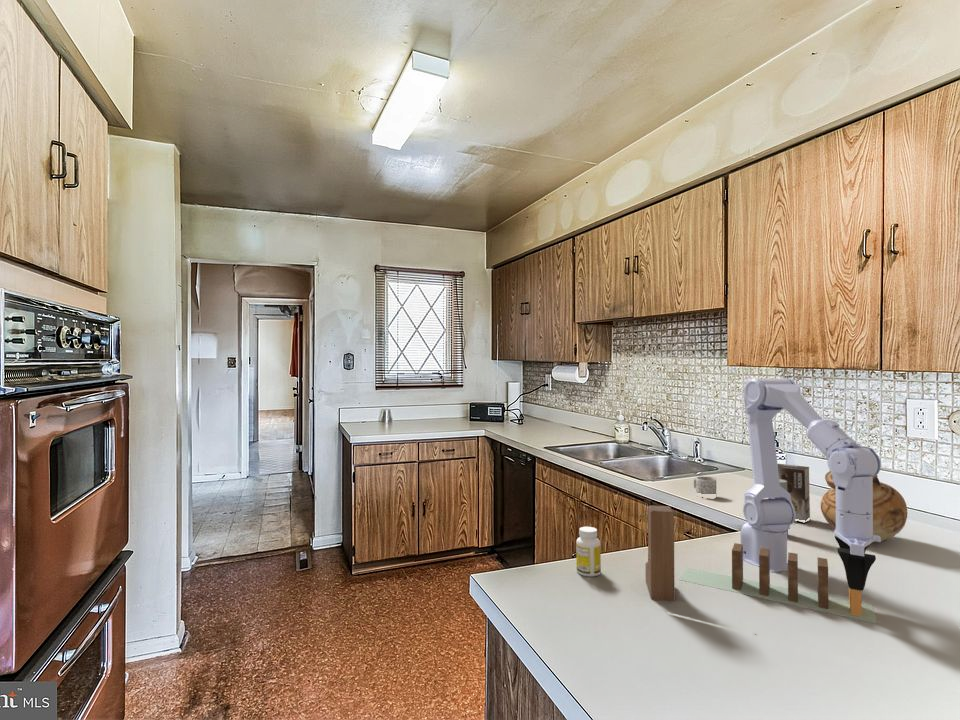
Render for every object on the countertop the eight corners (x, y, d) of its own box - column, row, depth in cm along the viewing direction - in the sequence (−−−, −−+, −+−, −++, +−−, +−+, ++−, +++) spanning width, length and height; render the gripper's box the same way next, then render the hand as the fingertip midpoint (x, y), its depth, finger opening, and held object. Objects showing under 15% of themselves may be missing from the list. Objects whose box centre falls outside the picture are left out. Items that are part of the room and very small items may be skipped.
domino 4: (818, 607, 97) (818, 565, 97) (817, 597, 101) (817, 557, 101) (828, 609, 96) (828, 567, 96) (827, 599, 100) (827, 558, 100)
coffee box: (810, 519, 154) (810, 466, 154) (806, 524, 149) (805, 469, 149) (777, 513, 160) (776, 462, 160) (771, 517, 155) (771, 465, 156)
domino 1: (732, 588, 105) (731, 550, 105) (734, 579, 109) (734, 543, 109) (740, 590, 104) (740, 551, 104) (743, 581, 108) (742, 544, 108)
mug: (720, 498, 178) (720, 480, 178) (704, 499, 176) (704, 480, 177) (701, 491, 188) (701, 474, 188) (686, 492, 186) (686, 474, 186)
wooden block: (645, 582, 109) (645, 499, 109) (667, 584, 108) (666, 500, 108) (651, 601, 100) (650, 510, 100) (674, 603, 99) (674, 512, 99)
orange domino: (850, 614, 94) (850, 571, 94) (849, 603, 98) (848, 562, 98) (861, 616, 93) (861, 573, 93) (859, 605, 97) (858, 564, 97)
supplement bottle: (597, 567, 117) (597, 525, 117) (603, 577, 112) (603, 532, 112) (574, 567, 117) (574, 525, 117) (579, 577, 111) (579, 533, 112)
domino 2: (759, 594, 102) (759, 554, 102) (761, 585, 106) (760, 547, 107) (768, 596, 101) (768, 556, 101) (769, 587, 106) (769, 549, 106)
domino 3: (788, 600, 100) (787, 560, 100) (788, 591, 104) (788, 552, 104) (797, 602, 99) (797, 561, 99) (797, 593, 103) (797, 553, 103)
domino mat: (679, 581, 109) (679, 579, 109) (686, 569, 116) (686, 567, 116) (877, 625, 91) (877, 623, 91) (872, 607, 98) (872, 605, 98)
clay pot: (804, 528, 145) (804, 459, 145) (864, 526, 147) (863, 458, 147) (860, 553, 126) (860, 473, 126) (928, 550, 128) (927, 471, 128)
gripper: (885, 524, 88) (886, 602, 88) (875, 504, 100) (876, 573, 100) (836, 517, 92) (836, 592, 91) (832, 499, 104) (832, 565, 104)
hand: (854, 581), depth 96 cm, fingers open, 7 cm apart
